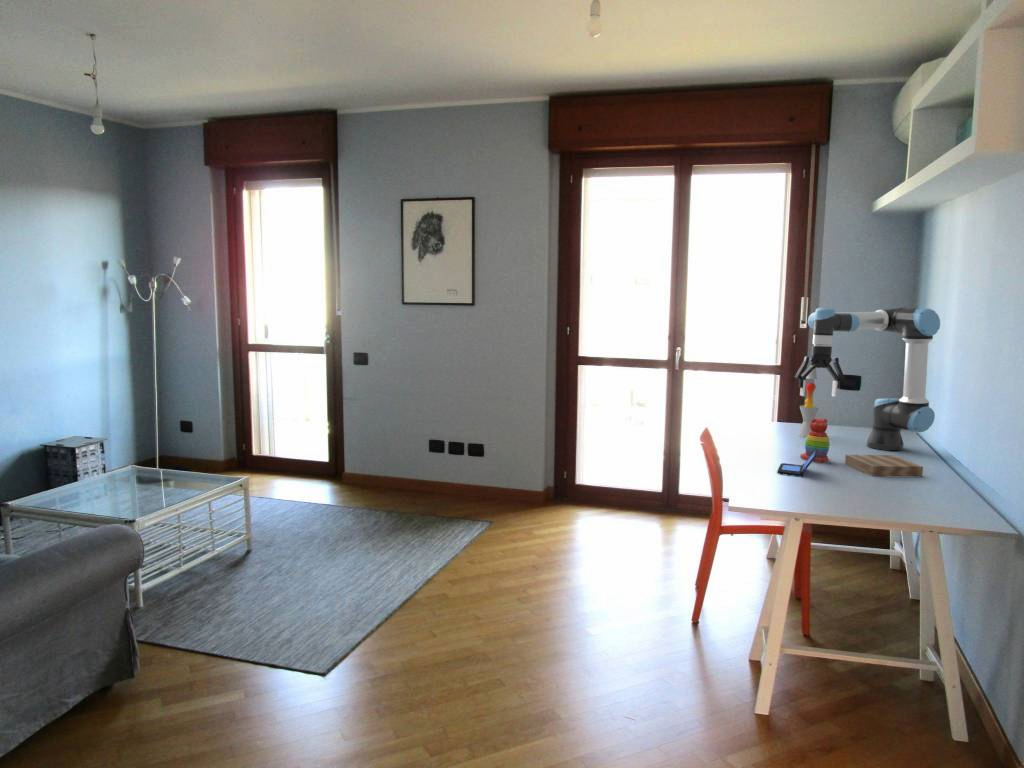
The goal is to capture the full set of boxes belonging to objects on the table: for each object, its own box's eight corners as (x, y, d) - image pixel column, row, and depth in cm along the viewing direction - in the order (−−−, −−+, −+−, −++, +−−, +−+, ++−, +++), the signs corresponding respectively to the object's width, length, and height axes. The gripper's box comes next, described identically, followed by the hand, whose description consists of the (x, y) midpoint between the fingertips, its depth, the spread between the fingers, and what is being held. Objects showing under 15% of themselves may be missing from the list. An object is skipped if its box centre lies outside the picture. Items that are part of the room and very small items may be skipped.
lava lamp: (818, 438, 346) (824, 367, 342) (799, 437, 348) (804, 366, 344) (814, 435, 355) (820, 365, 351) (795, 434, 357) (800, 364, 352)
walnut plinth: (892, 464, 293) (892, 455, 293) (922, 476, 274) (923, 466, 273) (845, 464, 292) (845, 454, 292) (871, 476, 273) (872, 466, 272)
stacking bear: (824, 457, 303) (828, 416, 301) (833, 463, 293) (836, 421, 291) (798, 456, 304) (801, 415, 302) (806, 462, 294) (809, 419, 292)
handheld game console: (780, 466, 287) (782, 443, 286) (816, 470, 281) (818, 447, 280) (776, 474, 273) (778, 451, 272) (814, 479, 267) (816, 455, 266)
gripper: (846, 345, 298) (842, 395, 301) (788, 344, 297) (785, 394, 300) (856, 346, 291) (851, 398, 294) (796, 345, 290) (792, 396, 292)
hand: (818, 396), depth 297 cm, fingers open, 13 cm apart
